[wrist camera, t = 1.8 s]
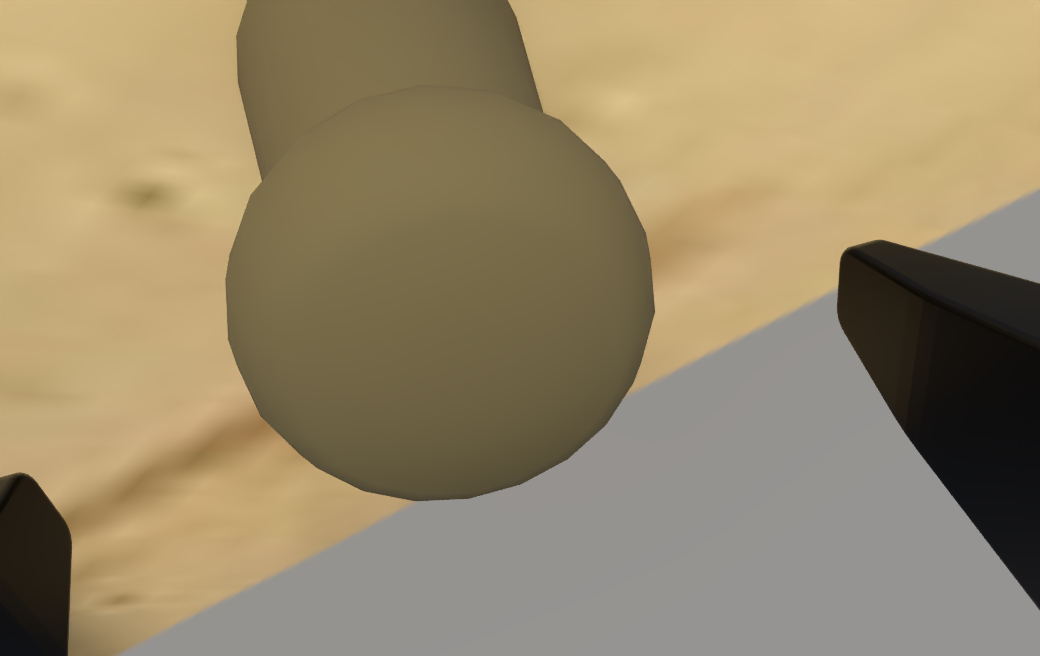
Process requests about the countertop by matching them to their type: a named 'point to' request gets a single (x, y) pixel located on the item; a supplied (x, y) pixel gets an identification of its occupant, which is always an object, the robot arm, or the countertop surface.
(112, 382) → the countertop surface
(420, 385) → the cork
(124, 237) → the countertop surface
